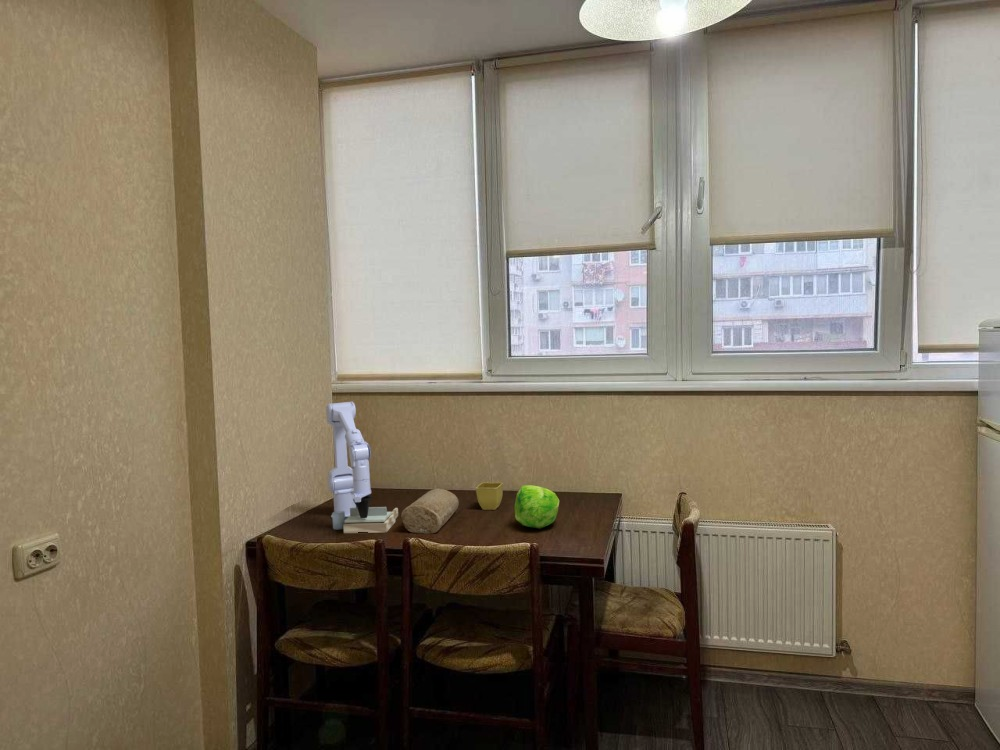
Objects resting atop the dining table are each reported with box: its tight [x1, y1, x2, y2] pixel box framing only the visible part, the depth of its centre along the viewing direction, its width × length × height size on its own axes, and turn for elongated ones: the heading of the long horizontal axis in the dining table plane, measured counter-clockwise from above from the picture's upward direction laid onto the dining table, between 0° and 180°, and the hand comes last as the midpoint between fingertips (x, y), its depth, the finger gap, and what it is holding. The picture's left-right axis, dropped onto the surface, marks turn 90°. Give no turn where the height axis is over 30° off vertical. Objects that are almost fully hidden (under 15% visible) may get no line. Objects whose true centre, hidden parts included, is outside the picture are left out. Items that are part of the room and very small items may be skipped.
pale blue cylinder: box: [331, 511, 347, 531], centre depth 235 cm, size 4×4×6 cm
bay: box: [343, 507, 399, 534], centre depth 237 cm, size 20×15×3 cm
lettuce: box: [514, 484, 560, 530], centre depth 225 cm, size 15×20×14 cm
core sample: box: [401, 488, 460, 535], centre depth 235 cm, size 14×26×10 cm, turn 170°
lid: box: [344, 506, 392, 524], centre depth 234 cm, size 10×14×4 cm
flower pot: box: [474, 482, 504, 511], centre depth 251 cm, size 9×9×9 cm
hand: (363, 517), depth 229 cm, fingers closed
